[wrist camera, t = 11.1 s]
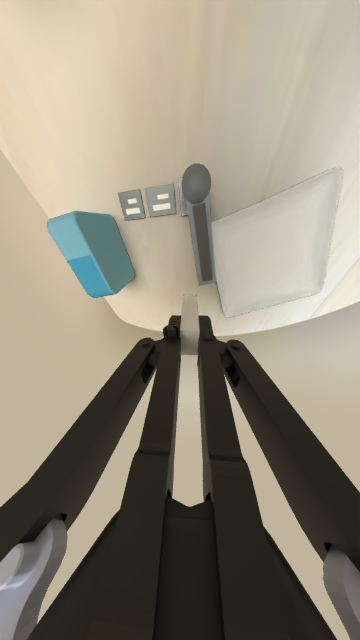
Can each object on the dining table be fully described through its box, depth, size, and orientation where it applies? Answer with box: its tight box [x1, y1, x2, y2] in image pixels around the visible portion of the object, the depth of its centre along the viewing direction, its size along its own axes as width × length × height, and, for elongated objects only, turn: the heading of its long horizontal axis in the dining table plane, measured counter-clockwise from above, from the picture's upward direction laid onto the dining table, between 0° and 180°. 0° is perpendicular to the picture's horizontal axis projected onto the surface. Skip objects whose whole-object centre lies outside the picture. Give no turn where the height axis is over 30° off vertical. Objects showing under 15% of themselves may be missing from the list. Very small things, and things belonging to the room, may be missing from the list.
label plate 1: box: [118, 190, 145, 220], centre depth 26 cm, size 4×4×1 cm
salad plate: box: [211, 167, 343, 318], centre depth 29 cm, size 21×21×3 cm
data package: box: [47, 211, 135, 298], centre depth 26 cm, size 12×4×12 cm, turn 12°
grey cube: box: [178, 178, 188, 216], centre depth 23 cm, size 5×5×5 cm
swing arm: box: [181, 164, 216, 286], centre depth 21 cm, size 15×4×5 cm, turn 13°
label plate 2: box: [145, 184, 176, 217], centre depth 25 cm, size 5×4×1 cm
